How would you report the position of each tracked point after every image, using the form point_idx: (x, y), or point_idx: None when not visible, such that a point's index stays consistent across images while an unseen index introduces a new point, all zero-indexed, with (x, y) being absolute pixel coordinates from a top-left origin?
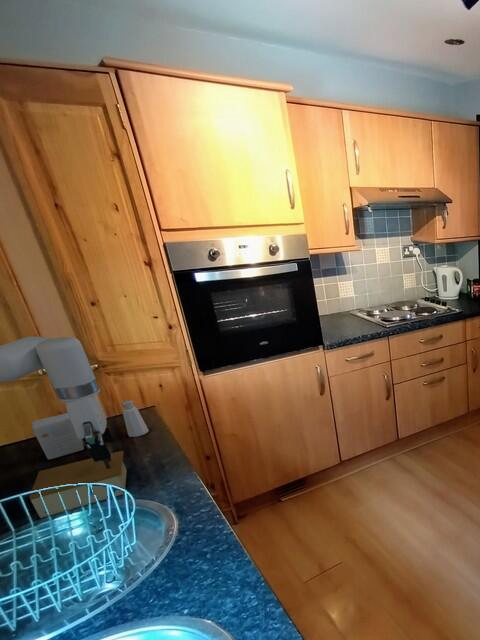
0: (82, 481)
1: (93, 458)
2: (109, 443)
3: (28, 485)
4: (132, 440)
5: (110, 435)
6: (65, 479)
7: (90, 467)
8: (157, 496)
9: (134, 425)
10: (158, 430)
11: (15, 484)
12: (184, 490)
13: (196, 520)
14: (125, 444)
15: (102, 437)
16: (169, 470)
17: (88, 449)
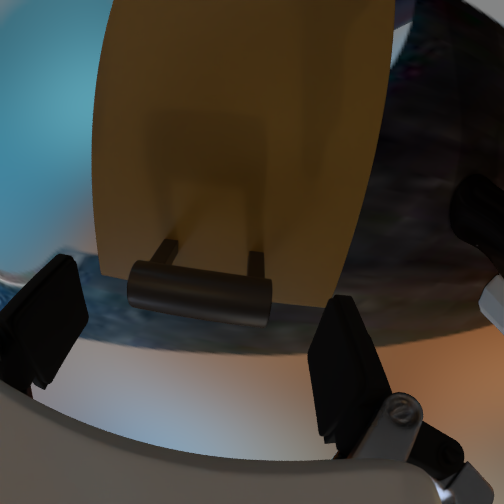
0: (100, 143)
1: (48, 266)
2: (481, 251)
3: (437, 16)
4: (479, 278)
5: (313, 390)
6: (179, 66)
7: (242, 175)
8: (86, 281)
9: (501, 312)
10: (466, 326)
11: (460, 7)
12: (89, 323)
13: (7, 303)
14: (476, 262)
15: (326, 361)
16: (210, 328)
17: (496, 193)
